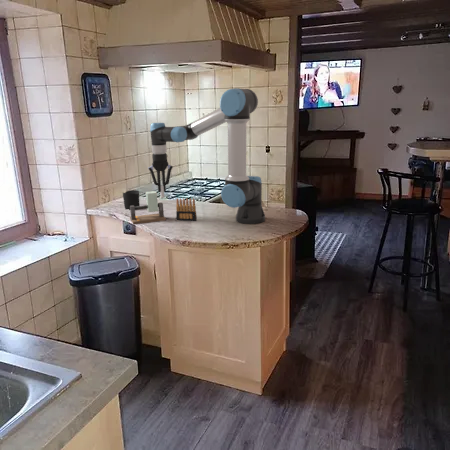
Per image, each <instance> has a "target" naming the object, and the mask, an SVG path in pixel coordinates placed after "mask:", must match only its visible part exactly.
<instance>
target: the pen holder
mask: <svg viewBox="0 0 450 450" xmlns="http://www.w3.org/2000/svg"><path fill="white" fill-rule="evenodd" d="M122 198H123V204H124V205H123V206H124V209H125V210H126V209H129V210H128V211H130V206H133V205H134V206H135V207H136V206H141V205H140V191H139V190H138V189H137V190H135V189H133V190H127V191H125V192H122Z"/></svg>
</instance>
